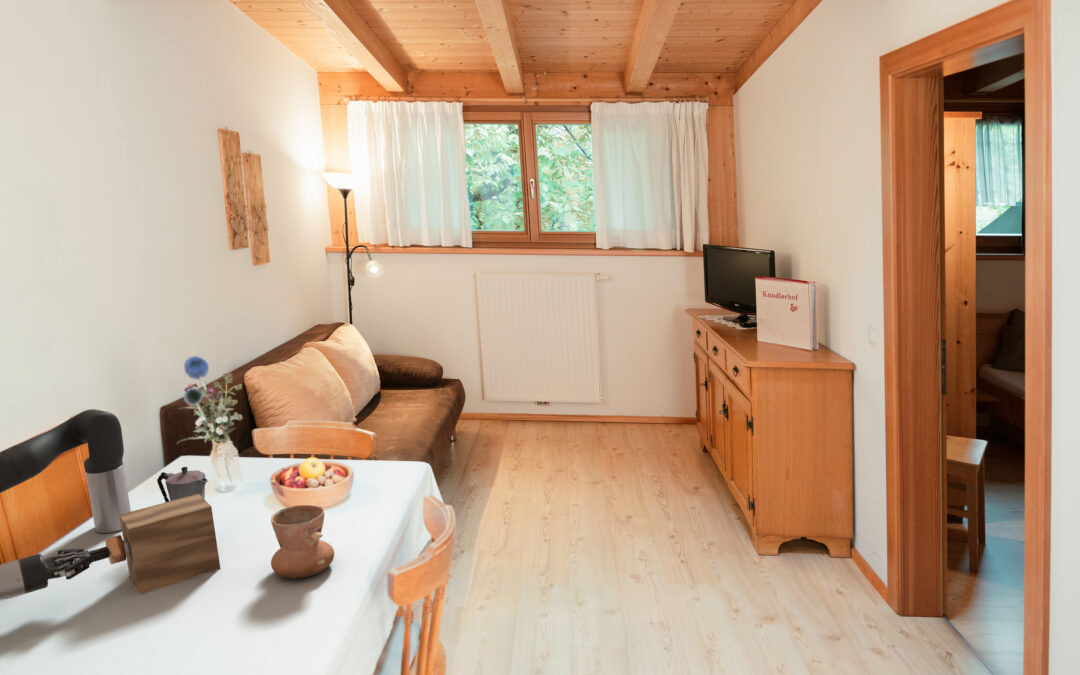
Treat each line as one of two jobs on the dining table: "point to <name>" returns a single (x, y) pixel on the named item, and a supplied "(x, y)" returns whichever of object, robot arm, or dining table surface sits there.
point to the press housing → (170, 542)
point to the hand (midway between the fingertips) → (108, 551)
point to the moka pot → (182, 484)
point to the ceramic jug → (300, 542)
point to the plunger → (117, 549)
